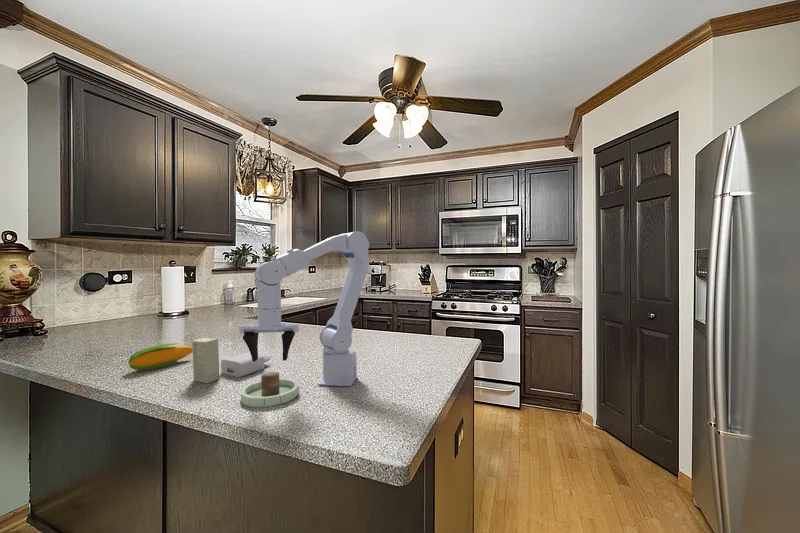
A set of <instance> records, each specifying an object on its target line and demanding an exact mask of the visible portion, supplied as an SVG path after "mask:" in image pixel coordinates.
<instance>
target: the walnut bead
mask: <svg viewBox="0 0 800 533" xmlns="http://www.w3.org/2000/svg"><path fill="white" fill-rule="evenodd" d="M260 376H261V377H260V378H261V379H260V381H261V392H262V396H263V397H267V396H273V395H278V394H279V378H280V373H279V372H278V371H270V372H264V373H262V374H261V375H260Z"/></svg>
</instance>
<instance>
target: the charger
mask: <svg viewBox="0 0 800 533" xmlns="http://www.w3.org/2000/svg"><path fill="white" fill-rule="evenodd" d="M271 357H272V355H266V354H258V359H257V360H256V361H255V362H253V361H252V357H251V354H250V352H245V353H240V354H239V355H234V356H230V357H228V358H227V357H226V358H224V359H221V361H220V372H221V374H223V375H227V376H231V377H236V378H241V377H245V376H247V375H251V374H252V373H256V372H259V371H262V370H265V363H267V362H269V361H270V360H271ZM250 373H251V374H250Z"/></svg>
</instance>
